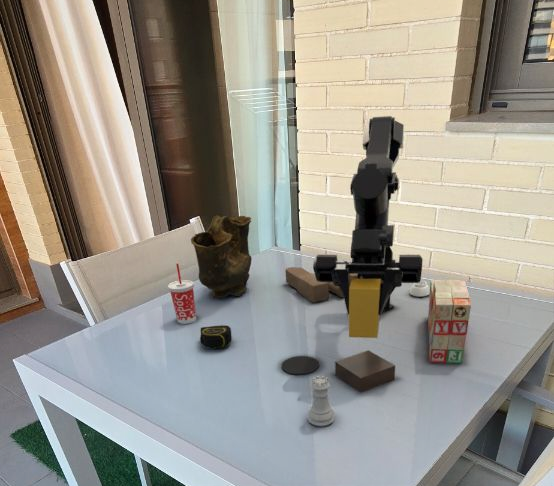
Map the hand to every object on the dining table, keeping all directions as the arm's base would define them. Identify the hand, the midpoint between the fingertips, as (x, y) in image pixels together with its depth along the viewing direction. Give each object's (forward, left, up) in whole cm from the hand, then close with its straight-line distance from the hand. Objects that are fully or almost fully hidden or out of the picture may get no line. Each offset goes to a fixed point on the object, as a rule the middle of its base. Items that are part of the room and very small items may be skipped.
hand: (363, 314), depth 94 cm
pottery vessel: (-60, +1, -14) cm, 62 cm away
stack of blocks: (-4, +24, -14) cm, 28 cm away
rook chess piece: (+7, -14, -14) cm, 21 cm away
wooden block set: (-45, +23, -14) cm, 53 cm away
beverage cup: (-49, -16, -14) cm, 54 cm away
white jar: (-26, +38, -14) cm, 48 cm away
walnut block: (-1, +1, -13) cm, 13 cm away
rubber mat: (-12, -6, -13) cm, 19 cm away
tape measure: (-32, -16, -14) cm, 39 cm away
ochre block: (-1, +1, -4) cm, 4 cm away
